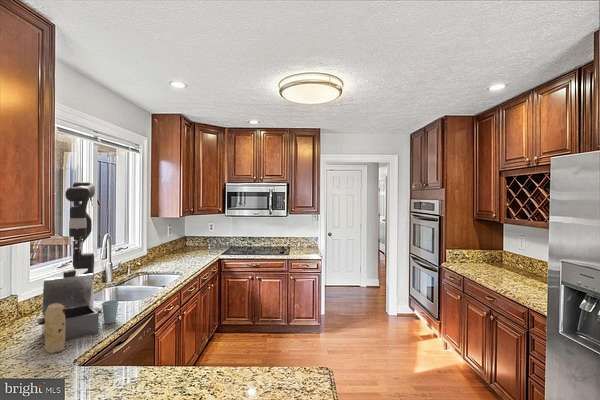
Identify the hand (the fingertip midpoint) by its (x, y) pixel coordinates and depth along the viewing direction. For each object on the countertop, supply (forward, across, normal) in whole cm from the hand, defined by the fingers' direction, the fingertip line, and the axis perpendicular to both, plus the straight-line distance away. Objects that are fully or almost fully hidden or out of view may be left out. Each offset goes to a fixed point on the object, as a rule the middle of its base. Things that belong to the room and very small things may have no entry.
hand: (77, 258), depth 179 cm
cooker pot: (+35, +8, -2) cm, 36 cm away
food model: (+35, +28, -6) cm, 45 cm away
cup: (+35, -2, +15) cm, 38 cm away
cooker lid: (+15, +3, -4) cm, 16 cm away
